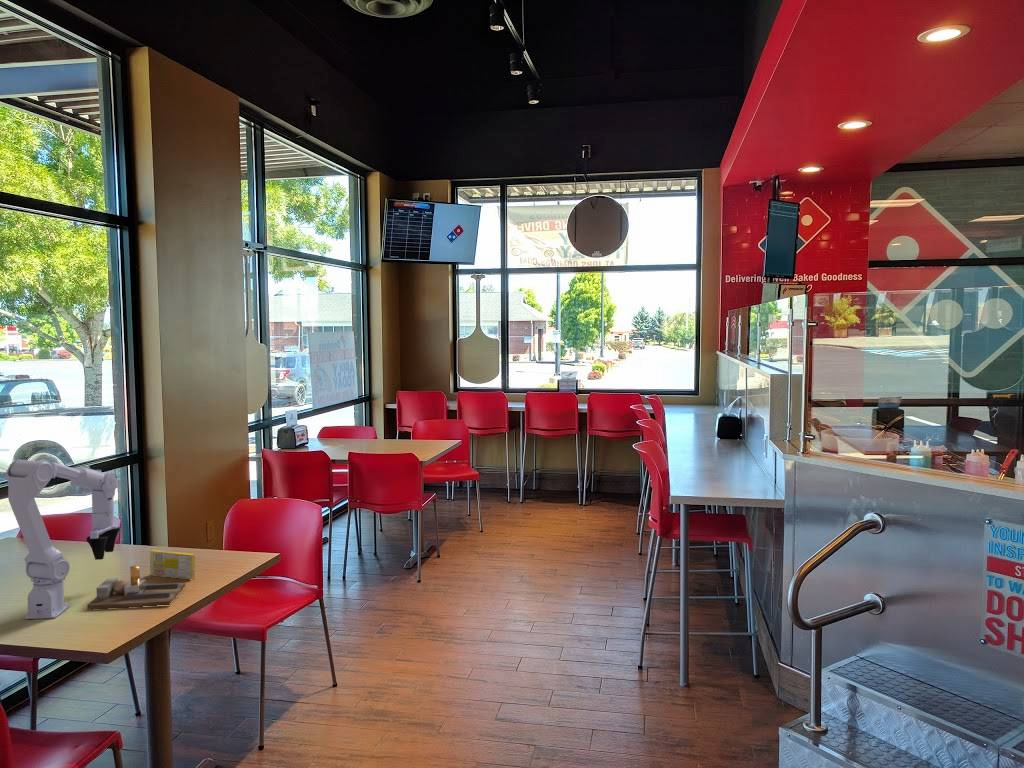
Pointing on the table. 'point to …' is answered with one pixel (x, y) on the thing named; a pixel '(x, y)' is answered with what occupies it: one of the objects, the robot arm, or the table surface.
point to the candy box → (172, 564)
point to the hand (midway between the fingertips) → (104, 555)
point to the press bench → (134, 596)
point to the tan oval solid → (119, 587)
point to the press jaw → (135, 582)
